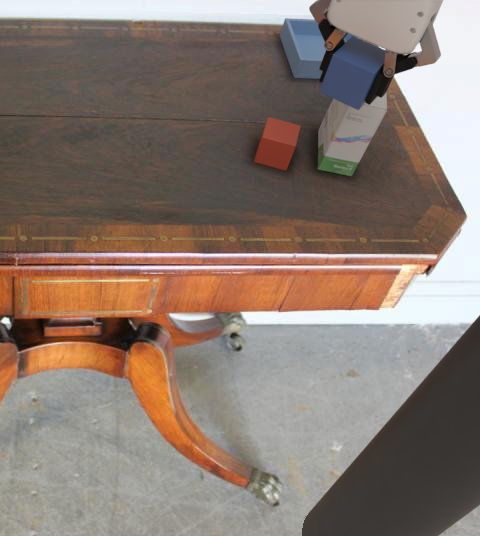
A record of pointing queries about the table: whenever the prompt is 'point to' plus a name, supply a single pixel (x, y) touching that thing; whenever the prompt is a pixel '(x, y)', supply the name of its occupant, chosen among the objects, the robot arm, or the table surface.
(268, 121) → the red block
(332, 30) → the robot arm
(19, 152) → the table surface
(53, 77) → the table surface
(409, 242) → the table surface
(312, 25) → the blue bin
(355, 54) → the blue block
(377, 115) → the ink box
